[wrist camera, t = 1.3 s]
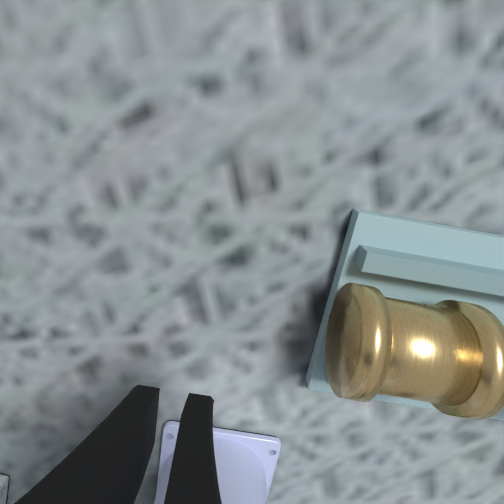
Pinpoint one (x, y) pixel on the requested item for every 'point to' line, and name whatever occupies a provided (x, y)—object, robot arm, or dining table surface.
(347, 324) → the coupling
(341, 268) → the board
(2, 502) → the light bulb box
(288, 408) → the dining table surface
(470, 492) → the dining table surface
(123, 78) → the dining table surface
